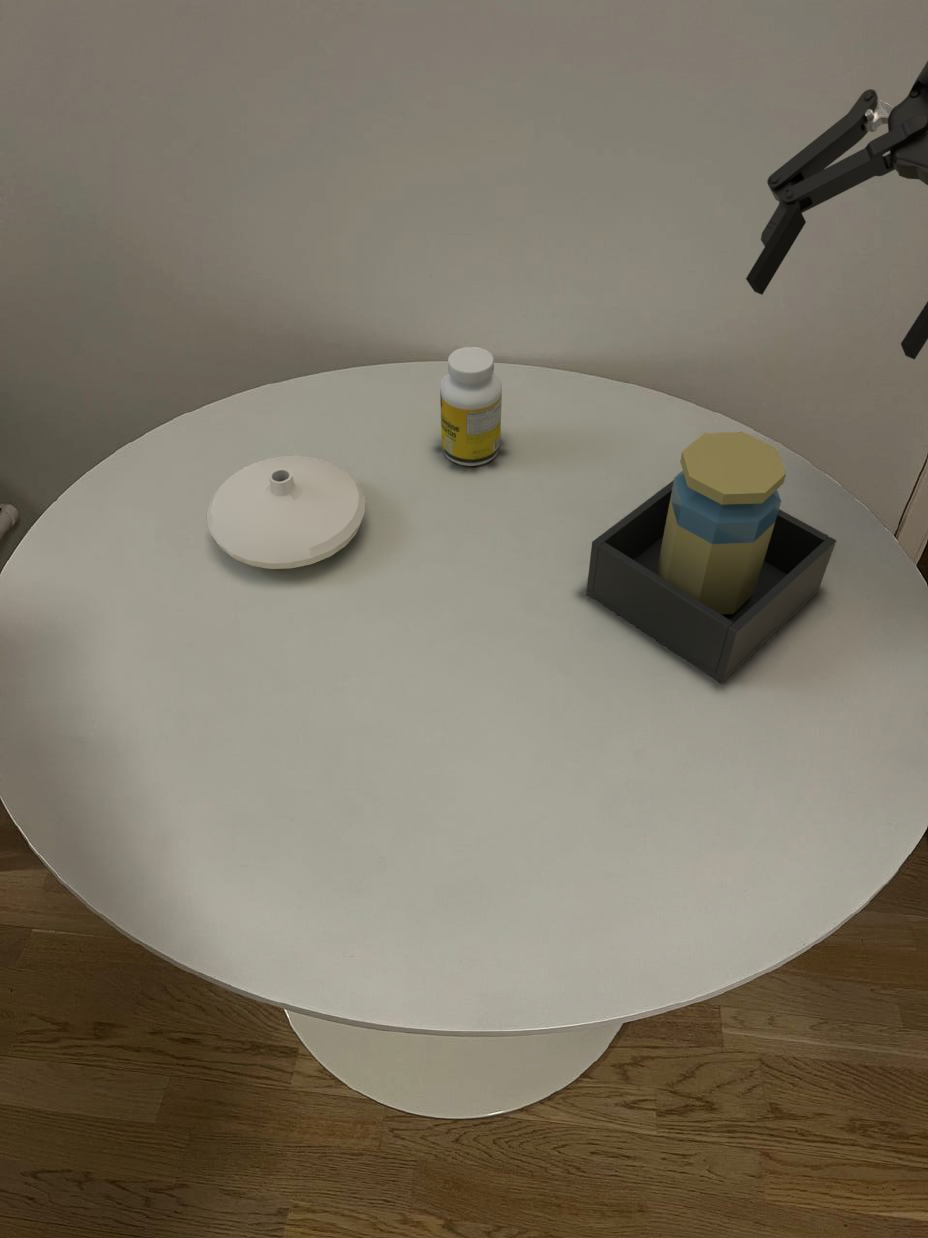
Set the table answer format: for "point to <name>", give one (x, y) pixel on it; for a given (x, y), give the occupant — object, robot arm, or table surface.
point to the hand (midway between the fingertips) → (827, 318)
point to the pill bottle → (470, 407)
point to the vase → (286, 512)
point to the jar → (721, 518)
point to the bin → (681, 620)
